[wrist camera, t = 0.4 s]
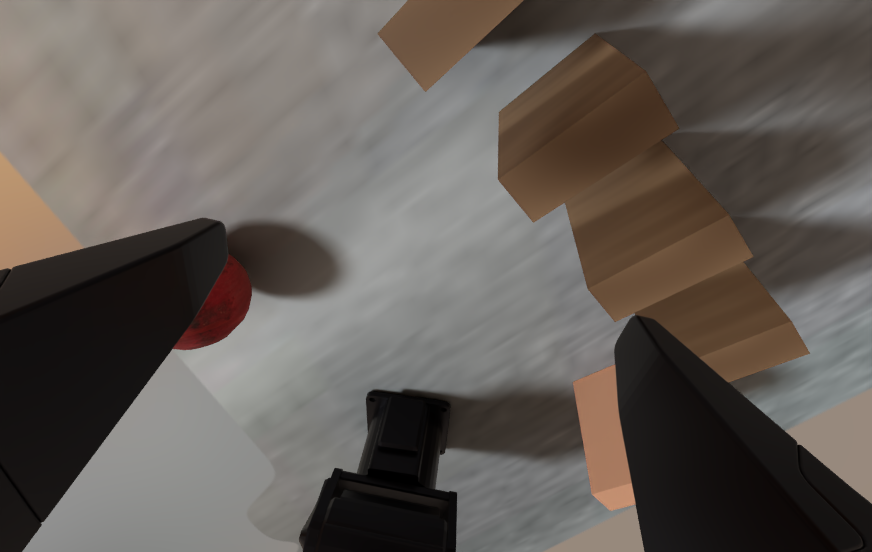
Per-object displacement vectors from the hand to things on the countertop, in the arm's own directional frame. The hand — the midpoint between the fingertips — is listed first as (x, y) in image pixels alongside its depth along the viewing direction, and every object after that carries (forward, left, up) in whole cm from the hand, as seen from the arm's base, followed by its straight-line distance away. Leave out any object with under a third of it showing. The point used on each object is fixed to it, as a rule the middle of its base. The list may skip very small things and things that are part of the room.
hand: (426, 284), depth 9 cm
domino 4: (-7, -12, -14) cm, 19 cm away
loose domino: (-17, -12, -14) cm, 25 cm away
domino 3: (-3, -8, -14) cm, 16 cm away
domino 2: (+1, -4, -14) cm, 15 cm away
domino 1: (+5, 0, -14) cm, 15 cm away
